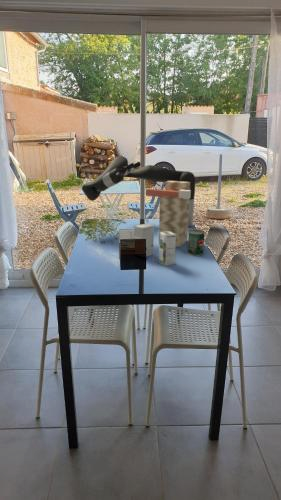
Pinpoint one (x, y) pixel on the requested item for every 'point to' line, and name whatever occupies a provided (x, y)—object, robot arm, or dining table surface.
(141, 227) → the skincare box
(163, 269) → the dining table surface
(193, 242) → the canned tomato
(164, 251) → the syrup box
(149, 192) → the block
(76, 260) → the dining table surface
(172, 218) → the stand
